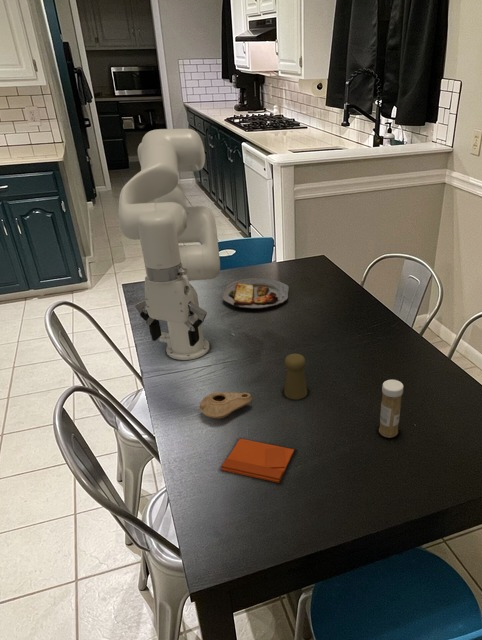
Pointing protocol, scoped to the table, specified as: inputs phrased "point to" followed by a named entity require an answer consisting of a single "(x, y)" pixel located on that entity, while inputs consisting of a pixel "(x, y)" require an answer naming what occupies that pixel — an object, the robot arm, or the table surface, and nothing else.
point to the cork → (295, 377)
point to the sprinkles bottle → (390, 408)
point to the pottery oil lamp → (223, 403)
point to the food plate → (255, 293)
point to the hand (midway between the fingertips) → (175, 340)
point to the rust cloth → (258, 460)
